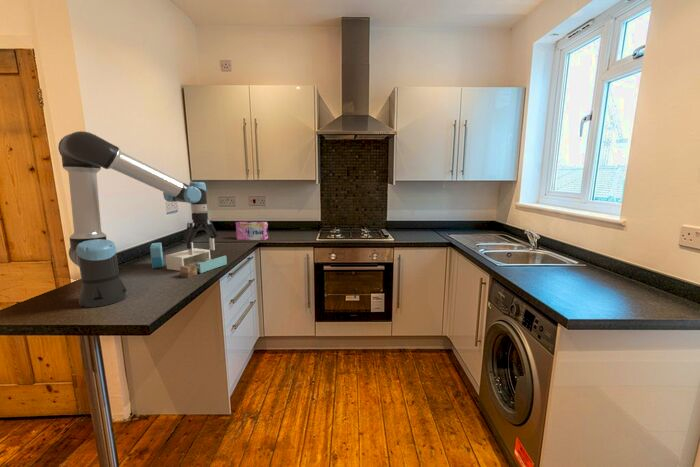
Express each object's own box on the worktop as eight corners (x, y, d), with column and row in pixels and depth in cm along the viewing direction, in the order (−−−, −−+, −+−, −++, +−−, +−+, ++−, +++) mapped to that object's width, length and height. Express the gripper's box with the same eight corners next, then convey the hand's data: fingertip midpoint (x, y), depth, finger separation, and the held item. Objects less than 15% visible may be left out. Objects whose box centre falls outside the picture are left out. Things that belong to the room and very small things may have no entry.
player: (210, 262, 176) (209, 250, 175) (183, 271, 160) (181, 257, 159) (195, 260, 181) (194, 248, 180) (166, 268, 165) (165, 255, 163)
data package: (159, 246, 164) (161, 242, 174) (149, 247, 162) (151, 242, 172) (162, 268, 166) (163, 262, 176) (152, 269, 164) (154, 263, 174)
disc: (192, 265, 164) (192, 262, 164) (205, 261, 171) (204, 258, 171) (204, 267, 161) (203, 263, 161) (216, 263, 168) (215, 260, 168)
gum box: (270, 238, 246) (269, 221, 244) (266, 240, 238) (265, 222, 236) (240, 237, 248) (239, 221, 246) (236, 239, 240) (235, 222, 238)
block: (188, 277, 150) (187, 267, 149) (181, 276, 152) (180, 266, 151) (197, 274, 154) (196, 265, 153) (189, 273, 156) (188, 264, 155)
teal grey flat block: (226, 264, 171) (226, 255, 171) (200, 273, 156) (199, 263, 155) (209, 261, 176) (209, 253, 175) (182, 270, 160) (181, 261, 159)
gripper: (183, 214, 148) (186, 258, 152) (223, 210, 171) (225, 248, 174) (172, 213, 151) (175, 256, 154) (213, 210, 174) (215, 247, 177)
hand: (202, 252), depth 164 cm, fingers open, 13 cm apart
